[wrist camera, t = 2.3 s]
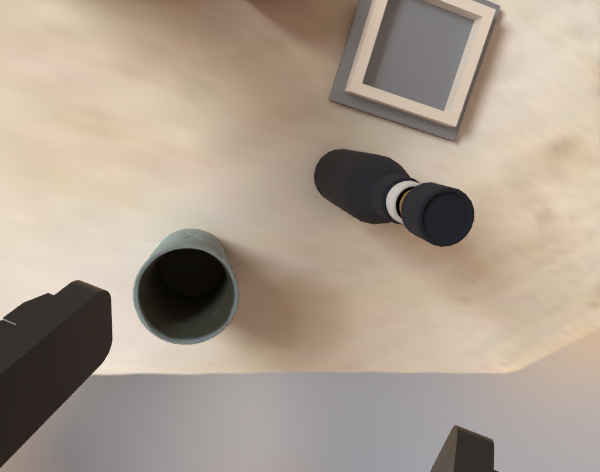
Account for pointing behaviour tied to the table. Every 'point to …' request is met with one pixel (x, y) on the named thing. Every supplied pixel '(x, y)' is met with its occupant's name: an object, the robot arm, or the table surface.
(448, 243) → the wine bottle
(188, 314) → the grey green cup
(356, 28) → the dock
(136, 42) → the table surface
